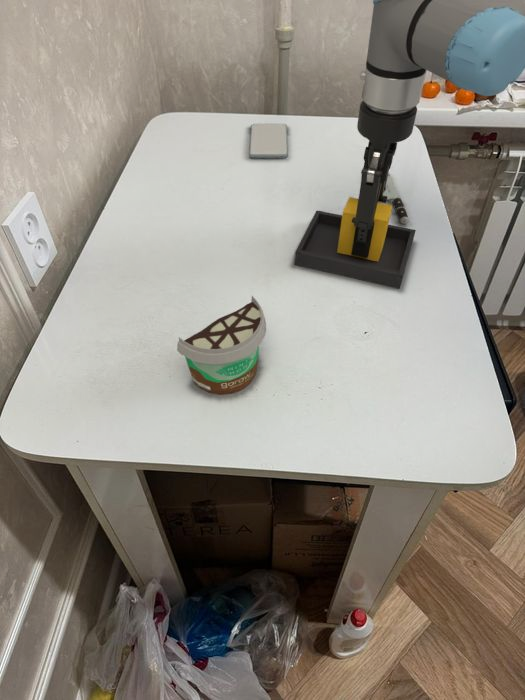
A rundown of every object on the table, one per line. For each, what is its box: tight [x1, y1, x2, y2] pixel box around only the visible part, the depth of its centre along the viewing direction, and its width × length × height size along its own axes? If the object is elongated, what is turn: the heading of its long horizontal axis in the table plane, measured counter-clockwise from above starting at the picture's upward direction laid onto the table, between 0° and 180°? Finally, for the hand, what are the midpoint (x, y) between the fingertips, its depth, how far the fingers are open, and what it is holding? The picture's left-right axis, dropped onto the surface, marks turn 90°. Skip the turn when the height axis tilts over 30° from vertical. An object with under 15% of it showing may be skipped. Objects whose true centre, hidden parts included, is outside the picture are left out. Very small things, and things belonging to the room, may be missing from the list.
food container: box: [176, 295, 267, 396], centre depth 64 cm, size 12×6×10 cm, turn 129°
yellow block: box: [337, 196, 393, 262], centre depth 82 cm, size 7×4×8 cm, turn 70°
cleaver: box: [383, 172, 410, 225], centre depth 96 cm, size 17×1×5 cm
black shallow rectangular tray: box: [294, 210, 417, 290], centre depth 84 cm, size 18×13×3 cm
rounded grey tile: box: [248, 123, 289, 159], centre depth 111 cm, size 8×1×15 cm
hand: (363, 245), depth 84 cm, fingers closed on yellow block, 4 cm apart
